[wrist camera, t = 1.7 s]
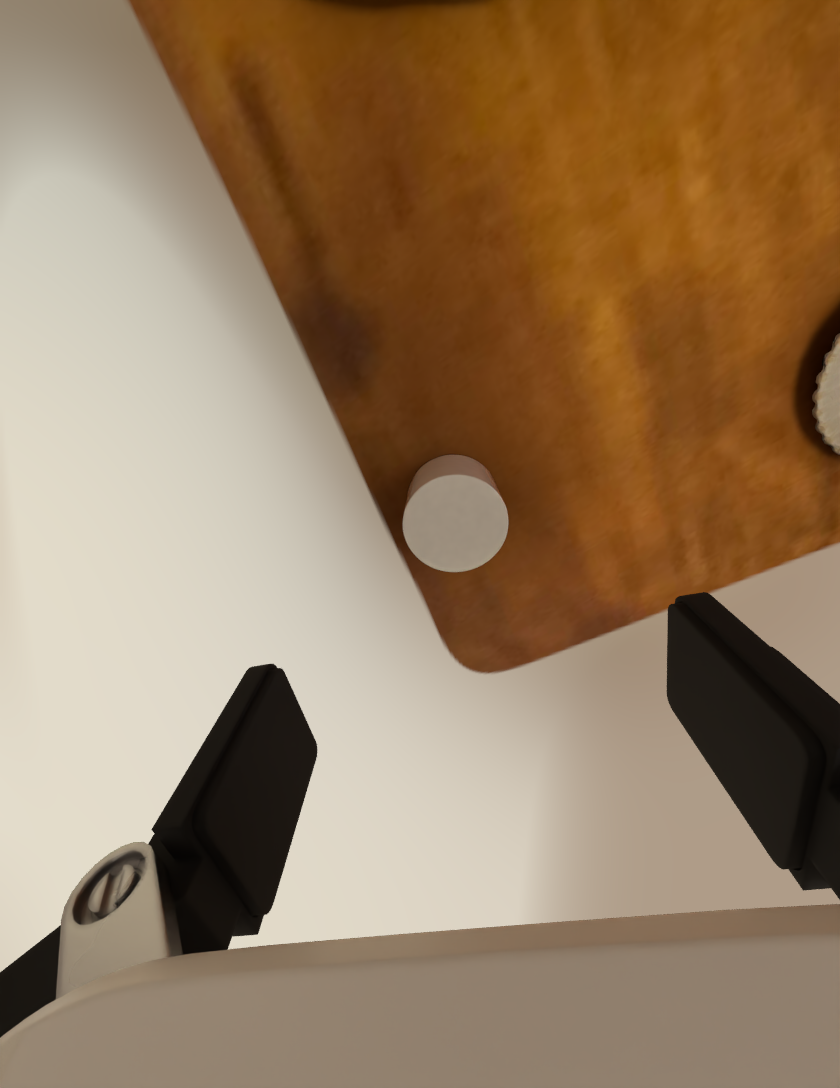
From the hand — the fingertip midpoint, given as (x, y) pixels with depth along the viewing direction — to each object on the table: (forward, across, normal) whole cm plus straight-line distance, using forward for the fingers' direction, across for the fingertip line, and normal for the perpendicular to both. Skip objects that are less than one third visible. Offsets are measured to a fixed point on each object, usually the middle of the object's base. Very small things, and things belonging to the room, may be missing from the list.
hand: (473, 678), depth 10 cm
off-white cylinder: (+13, 0, 0) cm, 13 cm away
